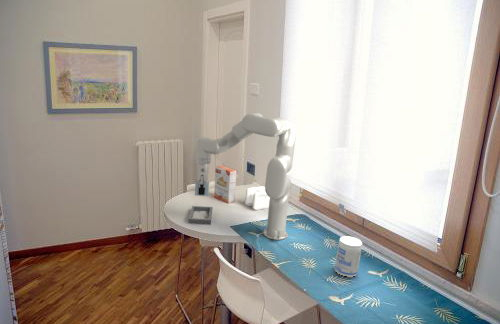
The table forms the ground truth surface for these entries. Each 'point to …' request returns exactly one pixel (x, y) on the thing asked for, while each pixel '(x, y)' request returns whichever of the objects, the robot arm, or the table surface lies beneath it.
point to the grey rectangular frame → (200, 221)
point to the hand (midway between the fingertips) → (201, 192)
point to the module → (204, 187)
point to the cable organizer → (257, 198)
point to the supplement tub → (348, 256)
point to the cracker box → (225, 184)
